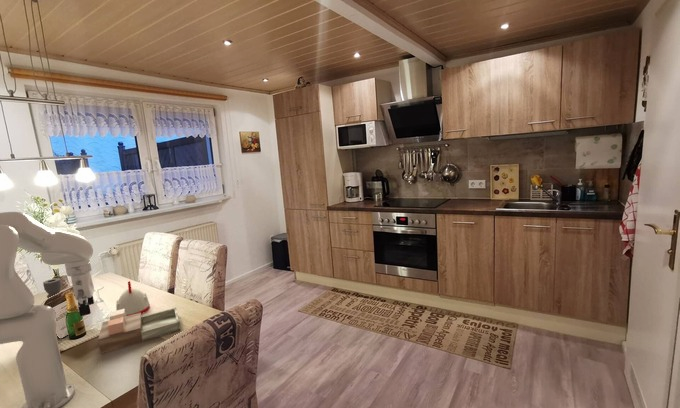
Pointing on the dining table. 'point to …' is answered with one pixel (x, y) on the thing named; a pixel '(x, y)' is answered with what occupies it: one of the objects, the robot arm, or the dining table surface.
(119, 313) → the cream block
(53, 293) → the candle holder
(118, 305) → the white dome with stick
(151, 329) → the stepped long block
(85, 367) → the dining table surface
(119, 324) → the salmon pink block
